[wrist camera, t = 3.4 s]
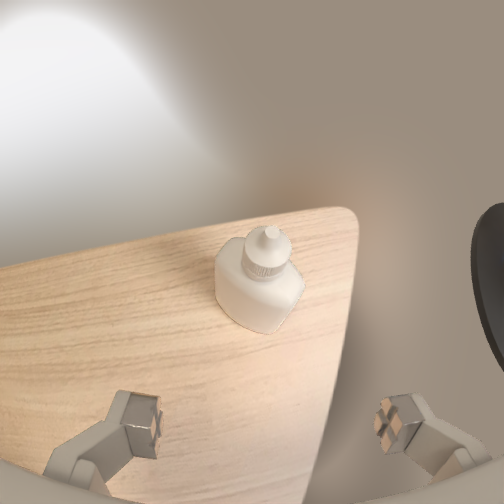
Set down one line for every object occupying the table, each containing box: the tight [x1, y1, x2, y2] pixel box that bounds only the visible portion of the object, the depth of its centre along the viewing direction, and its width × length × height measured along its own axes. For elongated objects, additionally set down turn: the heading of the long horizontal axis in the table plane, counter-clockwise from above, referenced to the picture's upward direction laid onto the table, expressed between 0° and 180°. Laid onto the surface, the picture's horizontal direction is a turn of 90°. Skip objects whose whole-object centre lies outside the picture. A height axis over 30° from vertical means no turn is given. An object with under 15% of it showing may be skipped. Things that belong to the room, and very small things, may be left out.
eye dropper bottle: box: [215, 226, 305, 334], centre depth 20 cm, size 4×6×12 cm
